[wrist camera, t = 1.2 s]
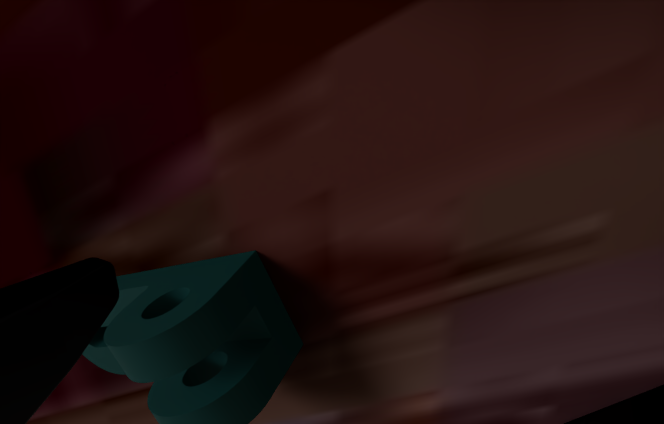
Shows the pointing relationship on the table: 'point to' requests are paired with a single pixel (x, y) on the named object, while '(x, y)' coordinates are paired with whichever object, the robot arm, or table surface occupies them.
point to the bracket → (200, 339)
